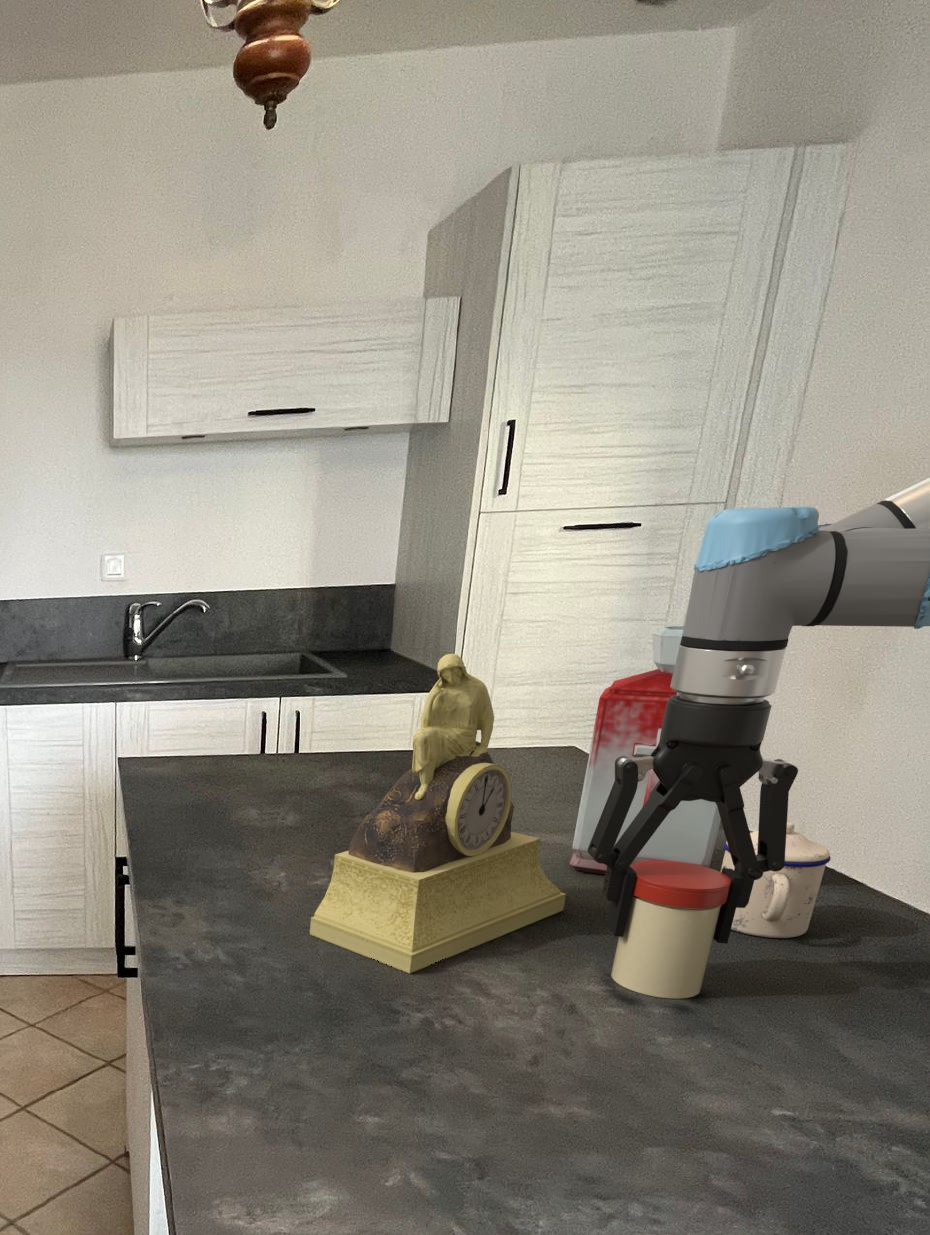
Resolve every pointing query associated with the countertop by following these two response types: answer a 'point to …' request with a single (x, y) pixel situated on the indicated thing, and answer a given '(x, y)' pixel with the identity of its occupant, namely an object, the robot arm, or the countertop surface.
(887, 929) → the countertop surface
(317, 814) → the countertop surface
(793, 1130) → the countertop surface
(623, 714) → the bottle
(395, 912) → the decorative clock
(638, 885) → the lid
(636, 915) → the jar
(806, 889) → the teacup with lid
